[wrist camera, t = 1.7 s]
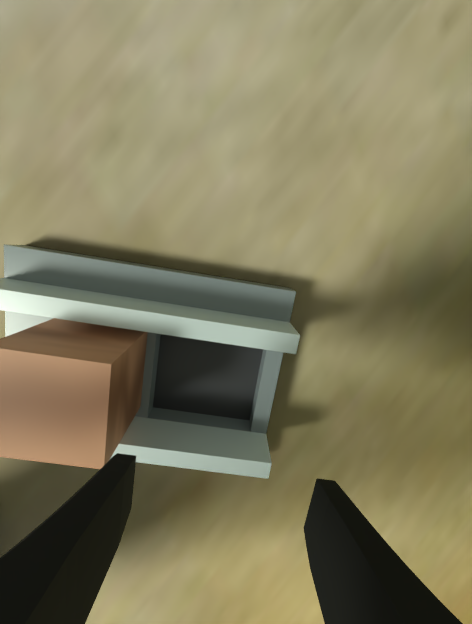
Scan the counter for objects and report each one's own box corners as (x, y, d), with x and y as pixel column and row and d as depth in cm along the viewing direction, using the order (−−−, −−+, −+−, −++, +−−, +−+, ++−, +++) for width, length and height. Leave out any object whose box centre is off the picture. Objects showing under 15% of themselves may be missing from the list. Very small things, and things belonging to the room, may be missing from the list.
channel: (256, 454, 20) (262, 505, 16) (24, 424, 19) (-30, 470, 15) (290, 287, 17) (307, 299, 13) (24, 245, 16) (-41, 243, 12)
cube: (140, 406, 17) (103, 469, 12) (57, 395, 17) (-15, 455, 12) (147, 329, 16) (111, 364, 11) (59, 316, 16) (-18, 345, 11)
